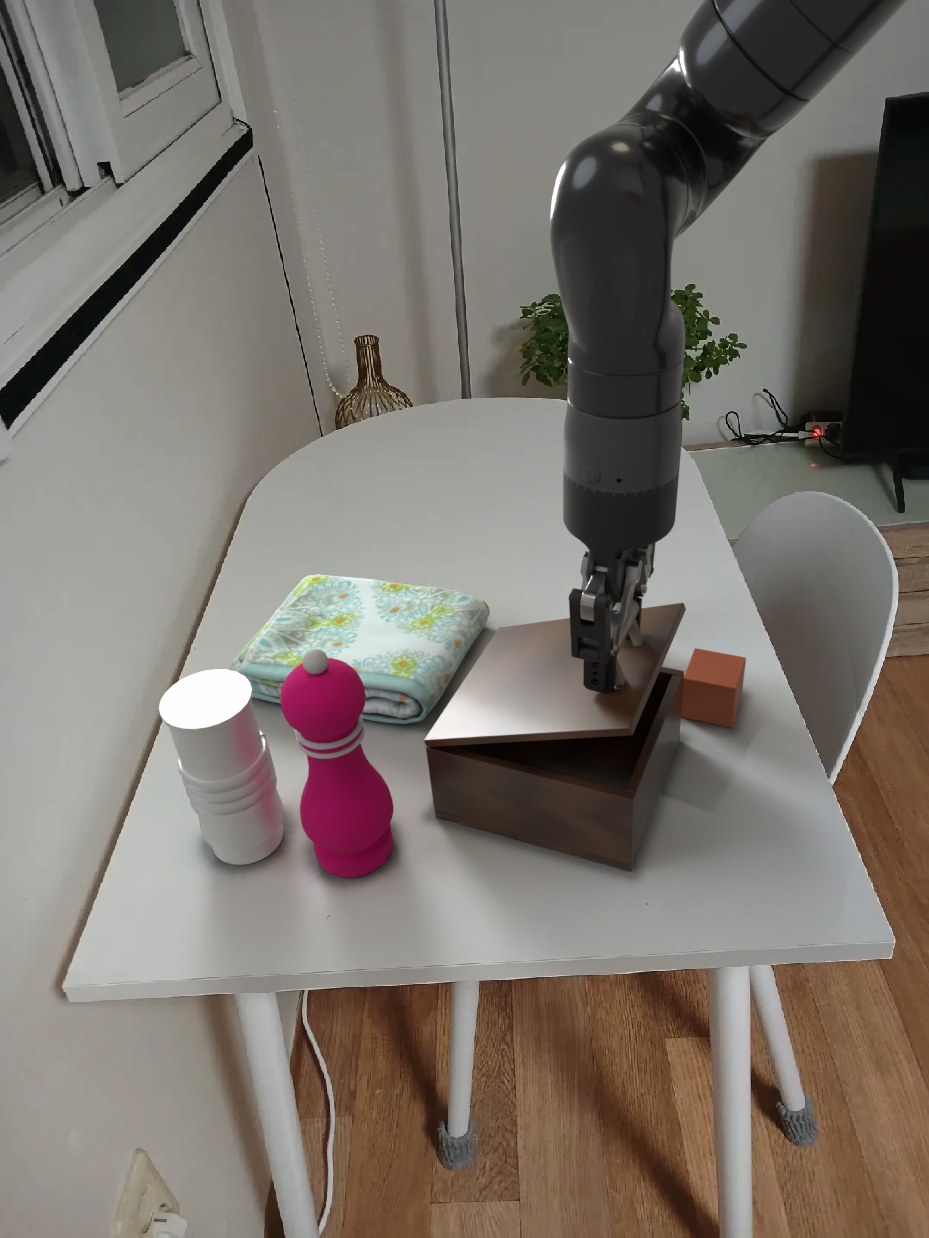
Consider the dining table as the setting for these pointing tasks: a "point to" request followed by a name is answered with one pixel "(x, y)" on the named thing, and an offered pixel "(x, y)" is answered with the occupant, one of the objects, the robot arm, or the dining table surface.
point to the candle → (225, 764)
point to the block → (713, 687)
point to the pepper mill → (337, 767)
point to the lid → (555, 684)
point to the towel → (369, 640)
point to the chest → (566, 783)
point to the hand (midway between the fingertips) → (612, 661)
